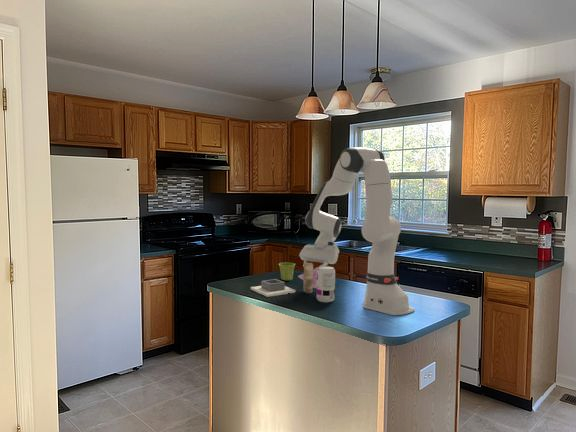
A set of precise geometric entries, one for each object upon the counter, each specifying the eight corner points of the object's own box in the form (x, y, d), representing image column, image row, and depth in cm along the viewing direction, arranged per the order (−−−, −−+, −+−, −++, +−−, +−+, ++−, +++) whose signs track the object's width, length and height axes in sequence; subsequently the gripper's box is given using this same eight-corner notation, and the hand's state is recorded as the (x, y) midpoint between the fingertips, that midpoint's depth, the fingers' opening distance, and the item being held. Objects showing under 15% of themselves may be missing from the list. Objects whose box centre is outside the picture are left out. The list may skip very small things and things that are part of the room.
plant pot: (276, 280, 227) (276, 264, 227) (281, 277, 236) (281, 261, 236) (292, 282, 225) (292, 266, 224) (297, 278, 234) (297, 263, 233)
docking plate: (295, 292, 202) (295, 283, 202) (267, 296, 193) (267, 286, 193) (278, 285, 216) (278, 276, 215) (250, 289, 207) (250, 280, 206)
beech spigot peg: (314, 292, 203) (314, 263, 202) (307, 293, 201) (307, 264, 200) (309, 290, 207) (309, 262, 206) (301, 291, 204) (302, 263, 204)
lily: (295, 286, 219) (295, 272, 214) (311, 275, 225) (310, 261, 220) (312, 297, 211) (312, 283, 206) (327, 285, 218) (327, 271, 213)
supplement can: (313, 301, 188) (314, 268, 187) (320, 296, 195) (321, 265, 194) (330, 303, 184) (331, 270, 183) (337, 299, 191) (337, 267, 190)
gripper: (303, 240, 218) (292, 261, 210) (338, 244, 206) (328, 266, 199) (307, 247, 222) (297, 268, 214) (342, 251, 210) (332, 274, 203)
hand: (312, 267), depth 206 cm, fingers open, 8 cm apart
